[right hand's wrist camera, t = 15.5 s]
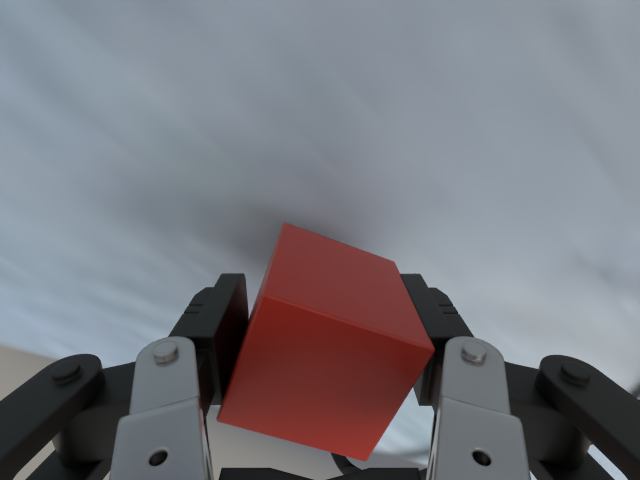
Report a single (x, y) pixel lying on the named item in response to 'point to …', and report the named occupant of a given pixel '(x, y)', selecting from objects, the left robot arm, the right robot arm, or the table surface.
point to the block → (326, 348)
